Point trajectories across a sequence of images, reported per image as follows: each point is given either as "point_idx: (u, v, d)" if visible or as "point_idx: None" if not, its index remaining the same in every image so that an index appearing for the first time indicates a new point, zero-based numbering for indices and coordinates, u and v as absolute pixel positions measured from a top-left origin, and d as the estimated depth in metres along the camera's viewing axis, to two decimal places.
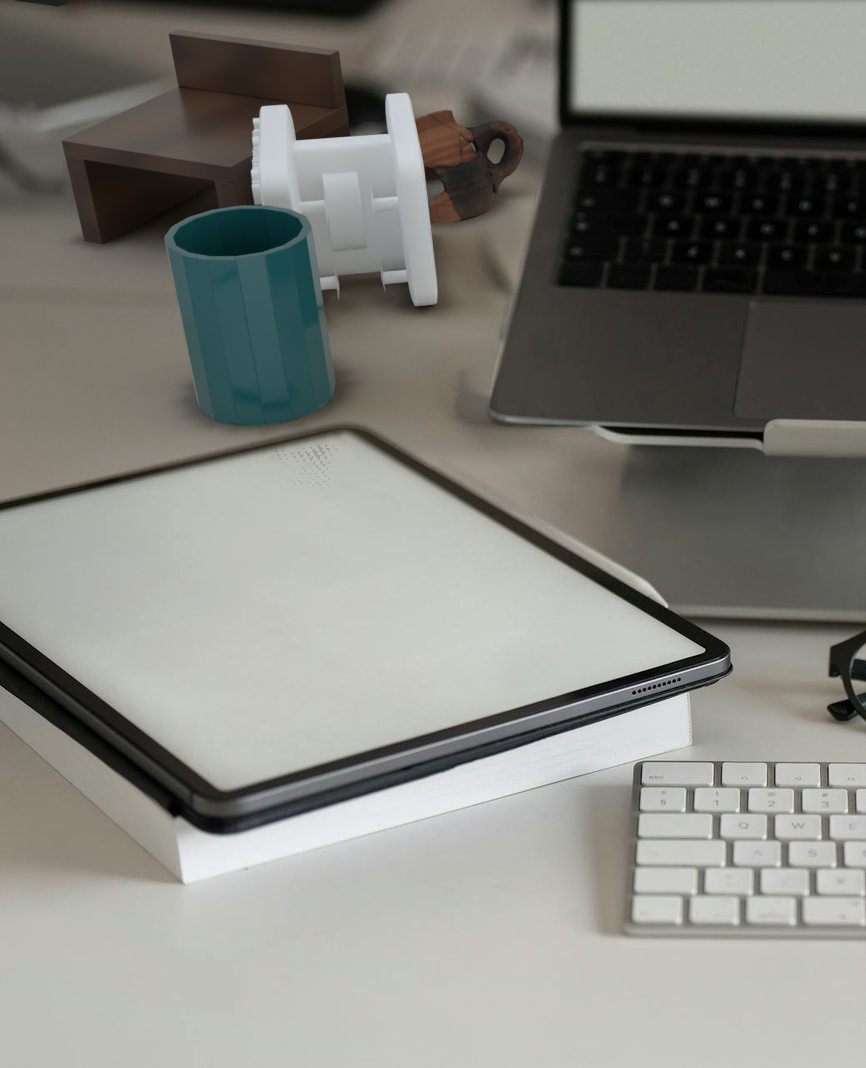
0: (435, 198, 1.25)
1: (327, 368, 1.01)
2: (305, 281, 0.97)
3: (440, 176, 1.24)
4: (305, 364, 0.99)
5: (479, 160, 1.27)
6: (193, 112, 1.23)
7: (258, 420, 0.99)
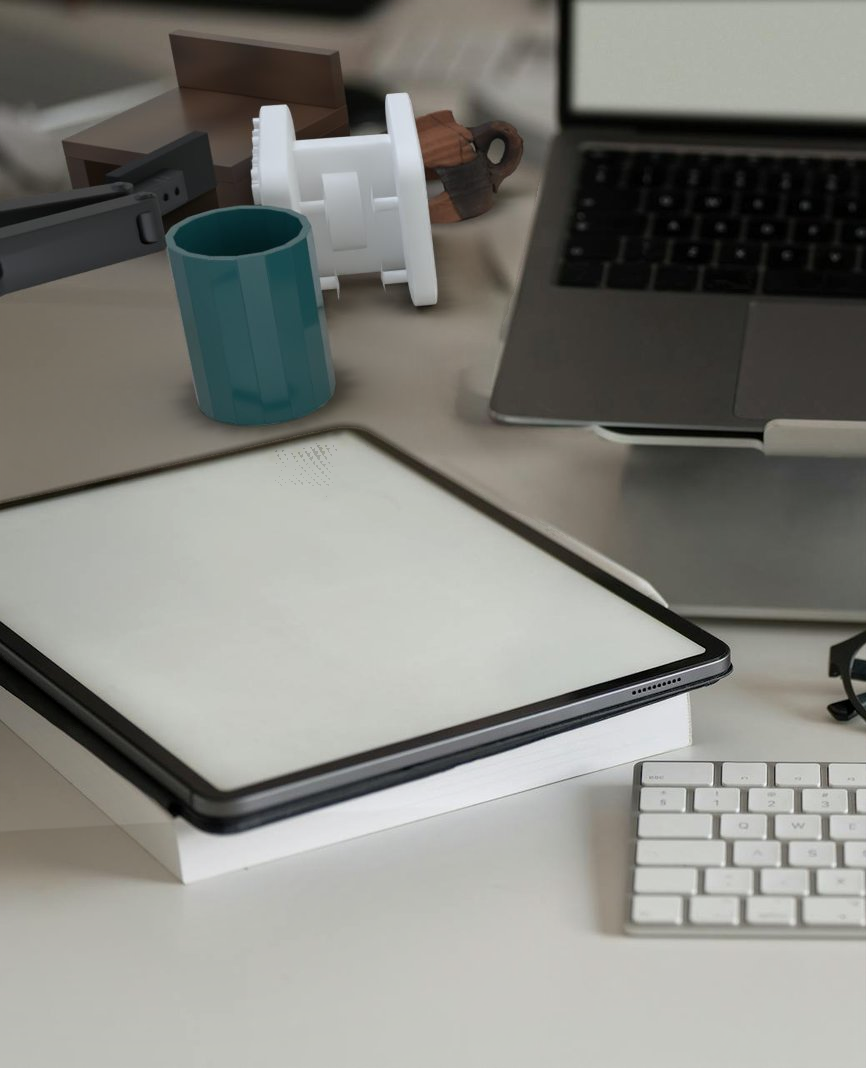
0: (435, 198, 1.25)
1: (327, 368, 1.01)
2: (305, 281, 0.97)
3: (440, 176, 1.24)
4: (305, 364, 0.99)
5: (479, 160, 1.27)
6: (193, 112, 1.23)
7: (258, 420, 0.99)
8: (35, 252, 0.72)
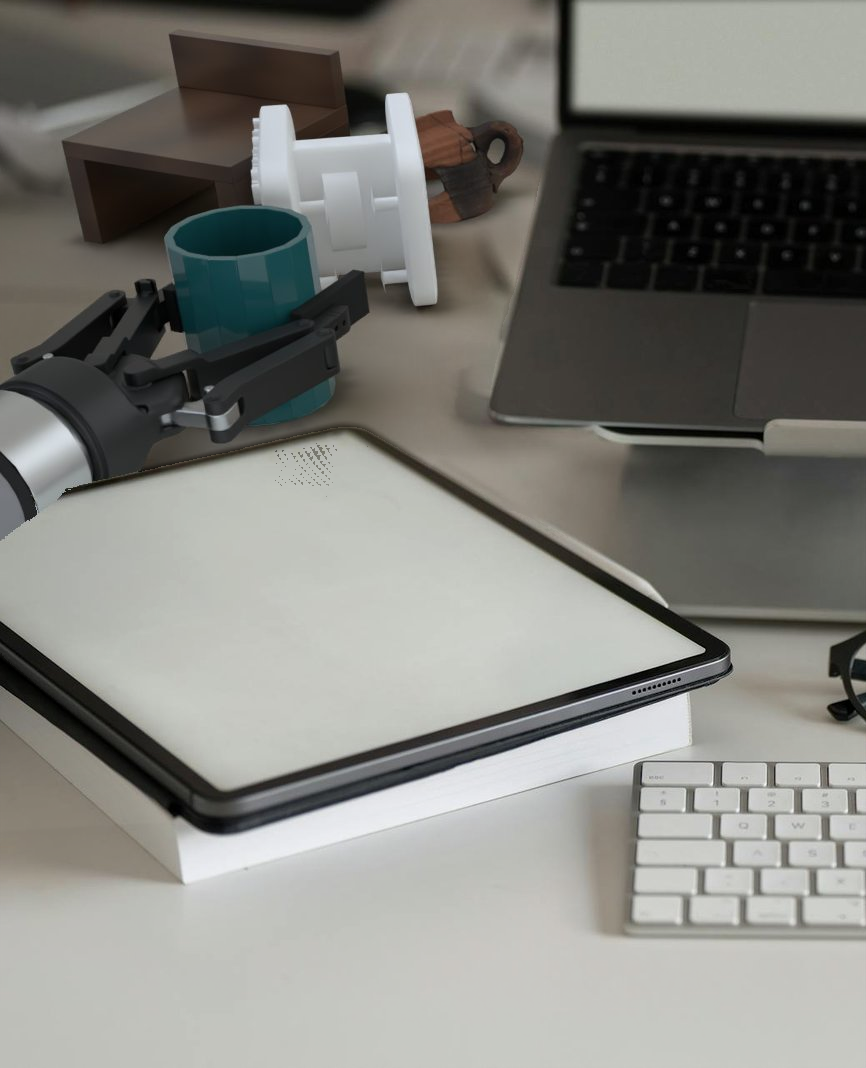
0: (435, 198, 1.25)
1: None
2: (305, 281, 0.97)
3: (440, 176, 1.24)
4: None
5: (479, 160, 1.27)
6: (193, 112, 1.23)
7: (258, 420, 0.99)
8: (265, 387, 0.91)
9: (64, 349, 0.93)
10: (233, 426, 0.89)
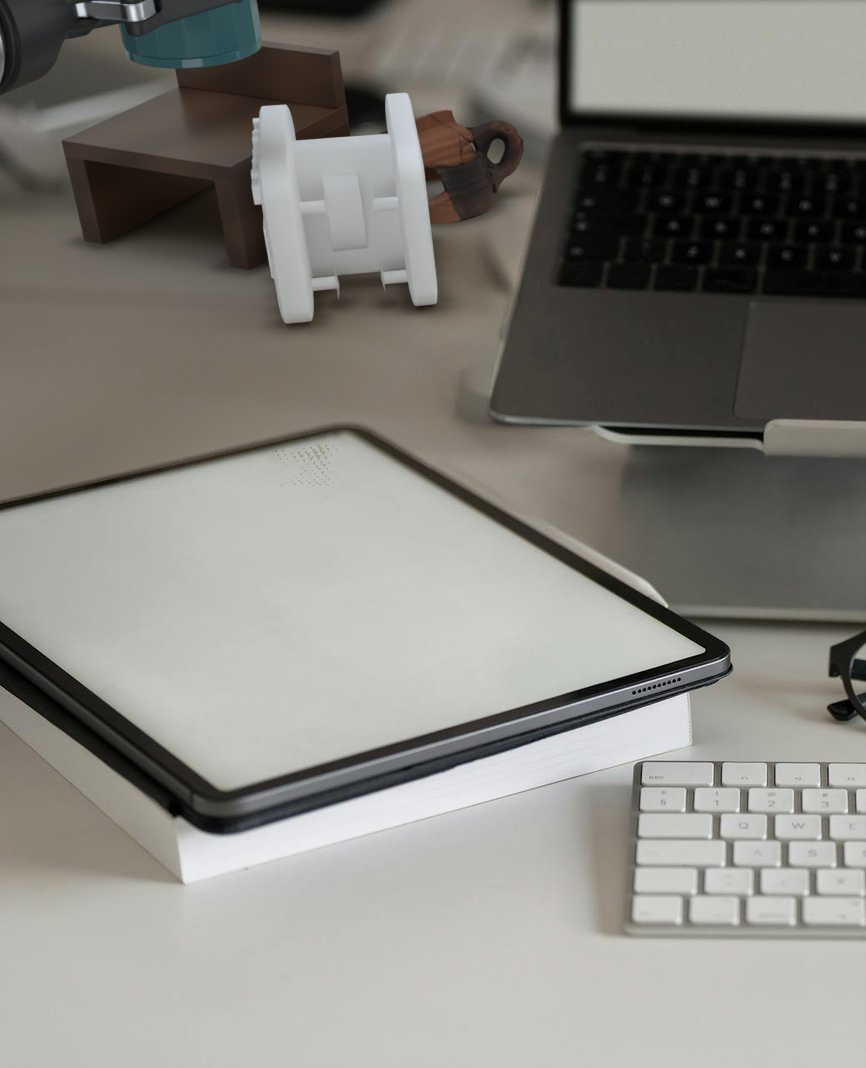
0: (435, 198, 1.25)
1: (251, 10, 1.02)
2: None
3: (440, 176, 1.24)
4: None
5: (479, 160, 1.27)
6: (193, 112, 1.23)
7: (181, 54, 1.00)
8: None
9: None
10: (148, 20, 0.90)
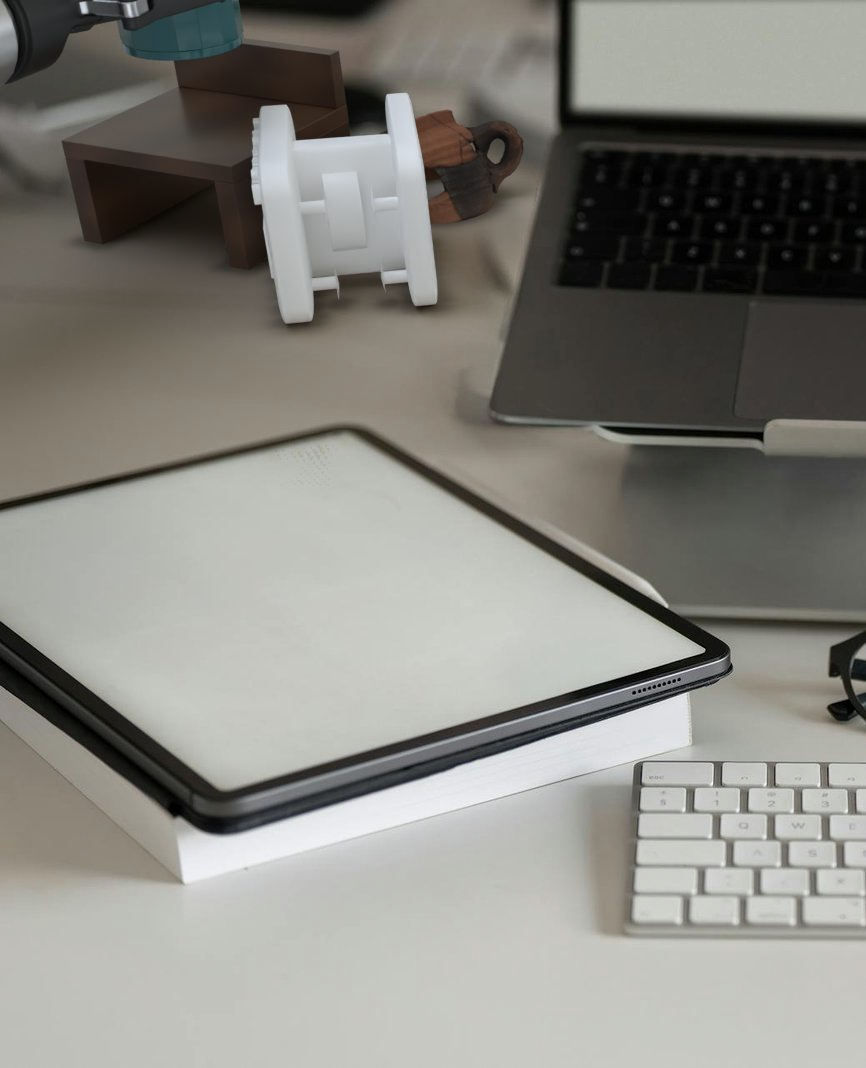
0: (435, 198, 1.25)
1: (234, 9, 1.16)
2: None
3: (440, 176, 1.24)
4: None
5: (479, 160, 1.27)
6: (193, 112, 1.23)
7: (172, 48, 1.14)
8: None
9: None
10: (142, 16, 1.04)
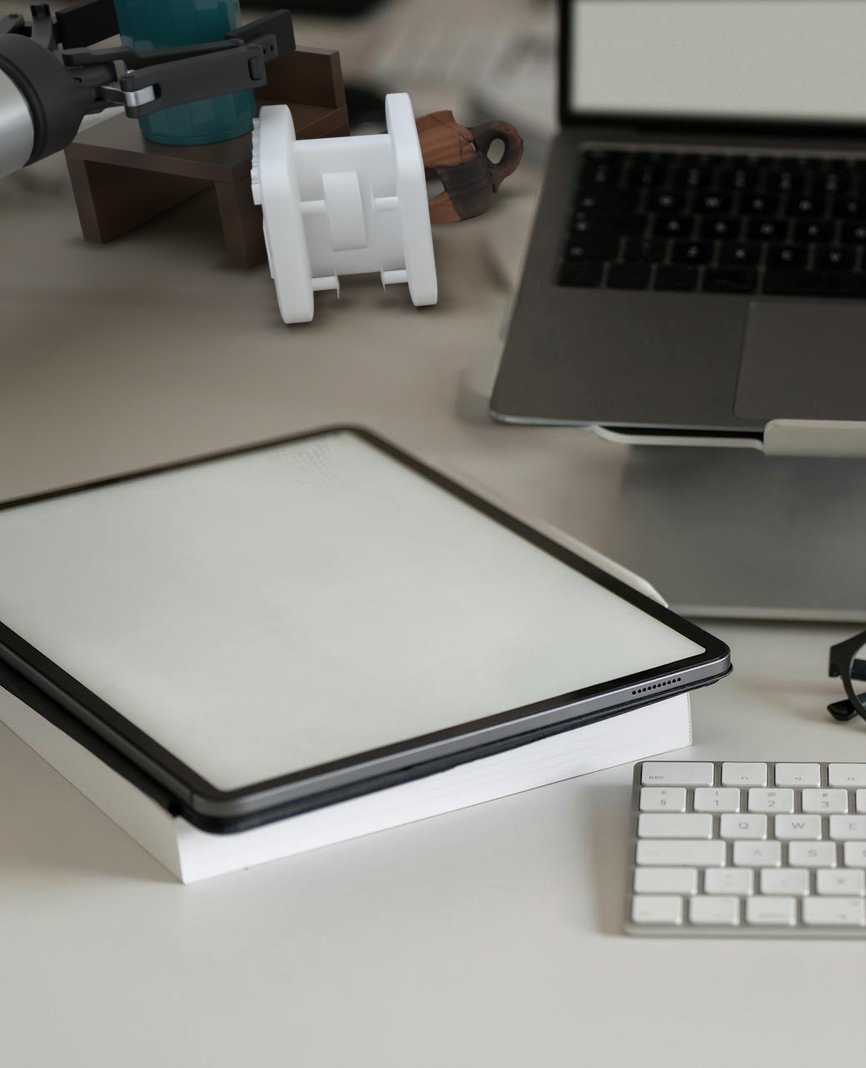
0: (435, 198, 1.25)
1: (248, 94, 1.19)
2: (227, 11, 1.15)
3: (440, 176, 1.24)
4: None
5: (479, 160, 1.27)
6: None
7: (188, 133, 1.17)
8: (182, 80, 1.07)
9: None
10: (144, 105, 1.05)
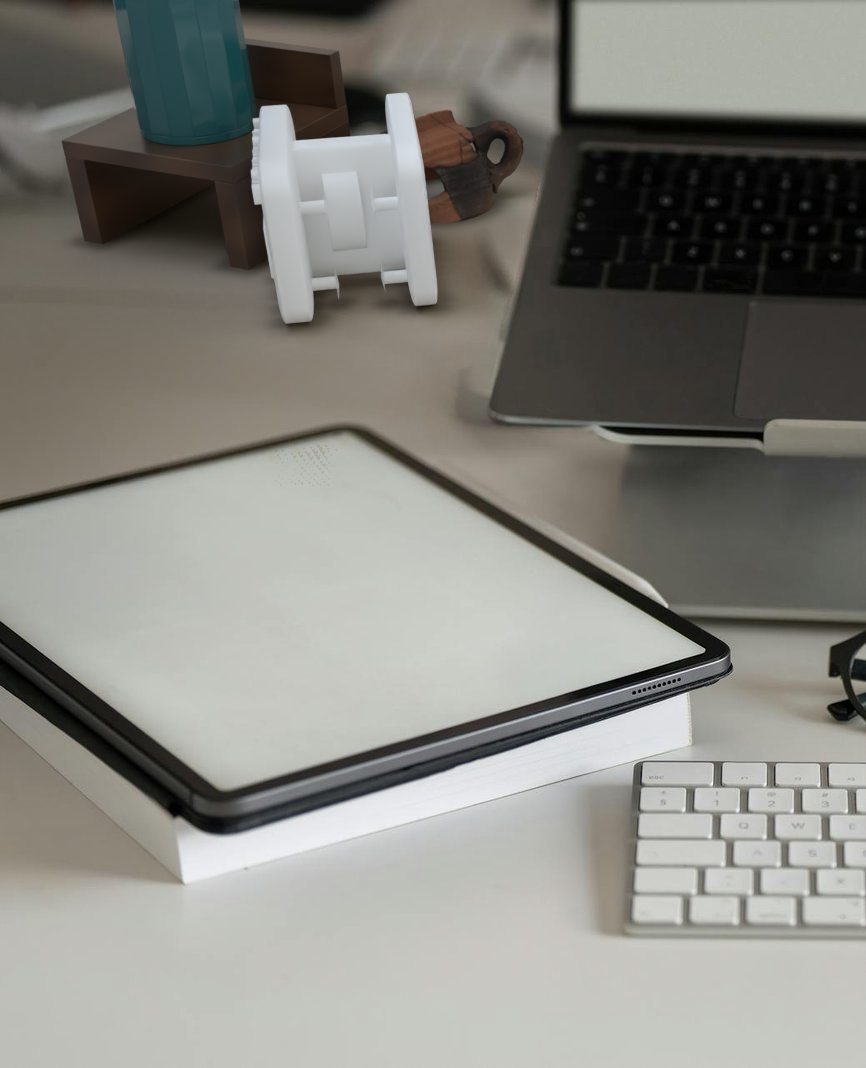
0: (435, 198, 1.25)
1: (248, 94, 1.19)
2: (227, 11, 1.15)
3: (440, 176, 1.24)
4: (228, 86, 1.17)
5: (479, 160, 1.27)
6: None
7: (188, 133, 1.17)
8: None
9: None
10: None
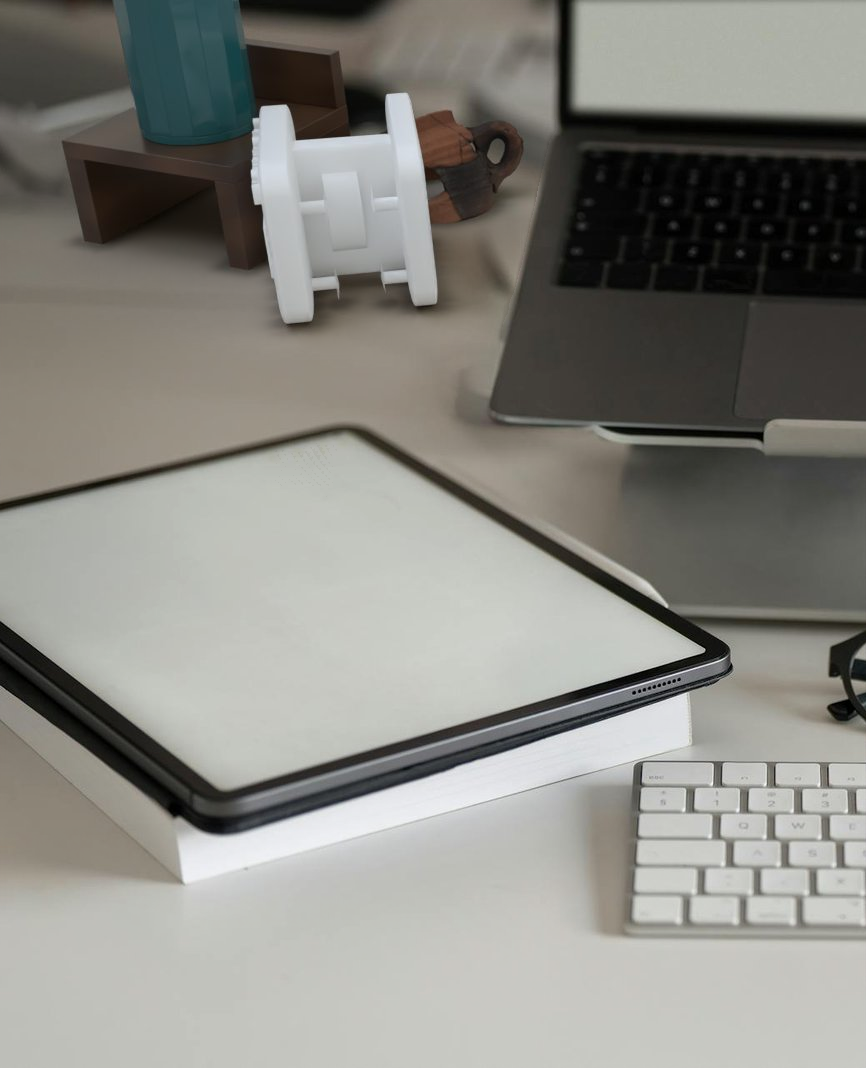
0: (435, 198, 1.25)
1: (248, 94, 1.19)
2: (227, 11, 1.15)
3: (440, 176, 1.24)
4: (228, 86, 1.17)
5: (479, 160, 1.27)
6: None
7: (188, 133, 1.17)
8: None
9: None
10: None
